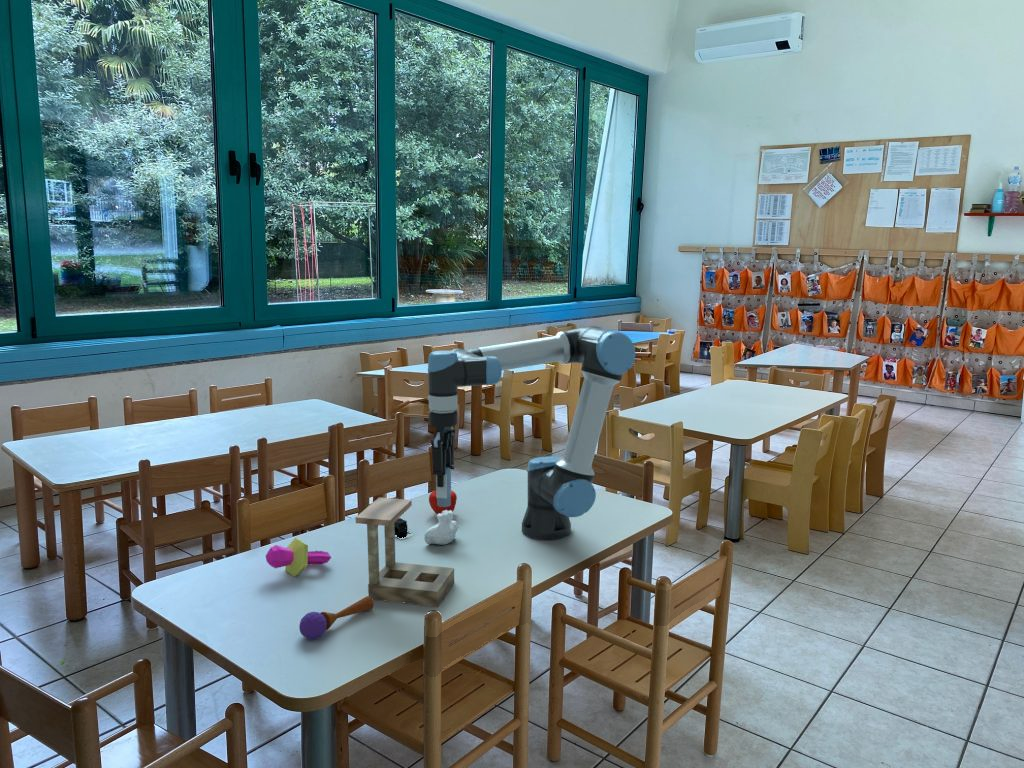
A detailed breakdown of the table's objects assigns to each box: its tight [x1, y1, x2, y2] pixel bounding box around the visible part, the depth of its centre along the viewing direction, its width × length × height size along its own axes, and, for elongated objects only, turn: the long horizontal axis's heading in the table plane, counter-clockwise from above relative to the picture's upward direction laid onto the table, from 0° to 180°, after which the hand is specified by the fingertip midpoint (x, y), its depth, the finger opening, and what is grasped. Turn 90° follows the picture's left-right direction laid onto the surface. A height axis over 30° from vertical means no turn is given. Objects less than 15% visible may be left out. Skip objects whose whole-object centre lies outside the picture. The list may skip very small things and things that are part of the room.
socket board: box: [367, 561, 455, 608], centre depth 200 cm, size 18×14×4 cm
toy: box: [265, 537, 332, 578], centre depth 211 cm, size 10×18×10 cm, turn 130°
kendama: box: [299, 595, 374, 640], centre depth 183 cm, size 6×6×20 cm
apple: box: [428, 490, 458, 515], centre depth 254 cm, size 9×9×8 cm
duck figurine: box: [423, 510, 459, 546], centre depth 231 cm, size 12×8×11 cm
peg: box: [437, 467, 452, 507], centre depth 210 cm, size 4×4×10 cm
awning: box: [355, 496, 413, 584], centre depth 200 cm, size 9×15×18 cm, turn 167°
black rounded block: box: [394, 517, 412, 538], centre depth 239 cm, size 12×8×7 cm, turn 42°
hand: (443, 495), depth 211 cm, fingers closed on peg, 3 cm apart
